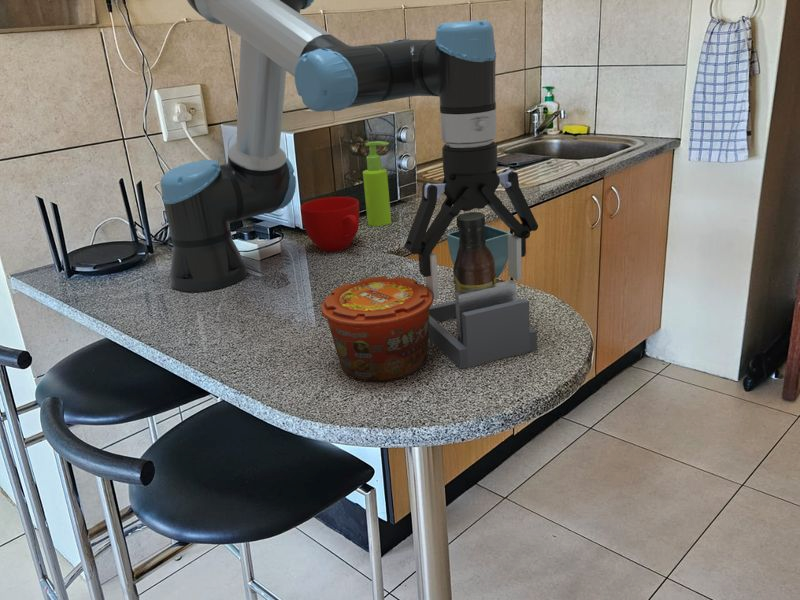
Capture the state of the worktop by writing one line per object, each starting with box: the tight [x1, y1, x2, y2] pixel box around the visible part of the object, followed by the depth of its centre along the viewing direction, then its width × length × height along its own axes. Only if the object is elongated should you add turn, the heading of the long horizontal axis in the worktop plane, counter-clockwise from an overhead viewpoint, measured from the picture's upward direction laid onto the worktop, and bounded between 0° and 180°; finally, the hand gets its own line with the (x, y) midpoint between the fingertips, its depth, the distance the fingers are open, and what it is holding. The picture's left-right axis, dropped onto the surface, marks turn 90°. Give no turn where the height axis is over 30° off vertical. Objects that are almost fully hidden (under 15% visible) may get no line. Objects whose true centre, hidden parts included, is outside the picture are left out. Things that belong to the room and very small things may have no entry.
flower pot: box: [445, 224, 512, 279], centre depth 129 cm, size 9×9×9 cm
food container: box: [320, 275, 434, 383], centre depth 100 cm, size 16×16×11 cm
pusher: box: [454, 279, 518, 344], centre depth 101 cm, size 1×9×10 cm, turn 111°
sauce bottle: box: [452, 211, 498, 293], centre depth 102 cm, size 7×6×20 cm
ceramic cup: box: [300, 196, 360, 252], centre depth 153 cm, size 13×17×10 cm
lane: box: [428, 298, 538, 370], centre depth 106 cm, size 18×12×8 cm
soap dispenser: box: [362, 140, 392, 227], centre depth 168 cm, size 6×7×20 cm
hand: (474, 286), depth 103 cm, fingers open, 13 cm apart
